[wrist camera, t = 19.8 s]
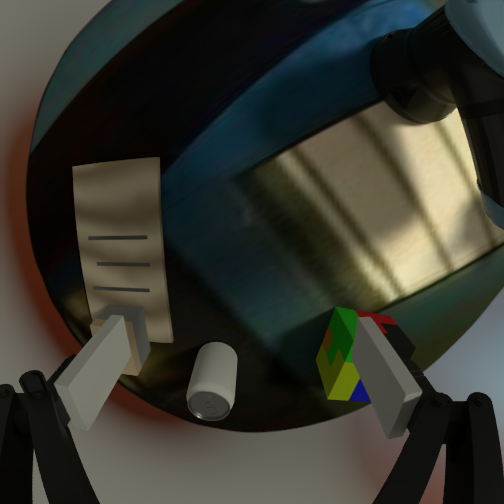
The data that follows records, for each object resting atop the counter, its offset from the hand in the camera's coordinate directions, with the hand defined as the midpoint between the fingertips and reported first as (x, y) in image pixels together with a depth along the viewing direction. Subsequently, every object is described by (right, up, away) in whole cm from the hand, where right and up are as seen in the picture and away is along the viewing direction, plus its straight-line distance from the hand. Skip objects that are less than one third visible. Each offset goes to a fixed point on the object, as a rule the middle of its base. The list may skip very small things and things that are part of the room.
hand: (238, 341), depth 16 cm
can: (-5, -12, +31) cm, 34 cm away
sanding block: (-19, -7, +29) cm, 35 cm away
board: (-19, +4, +27) cm, 33 cm away
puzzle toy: (+17, -9, +31) cm, 36 cm away
